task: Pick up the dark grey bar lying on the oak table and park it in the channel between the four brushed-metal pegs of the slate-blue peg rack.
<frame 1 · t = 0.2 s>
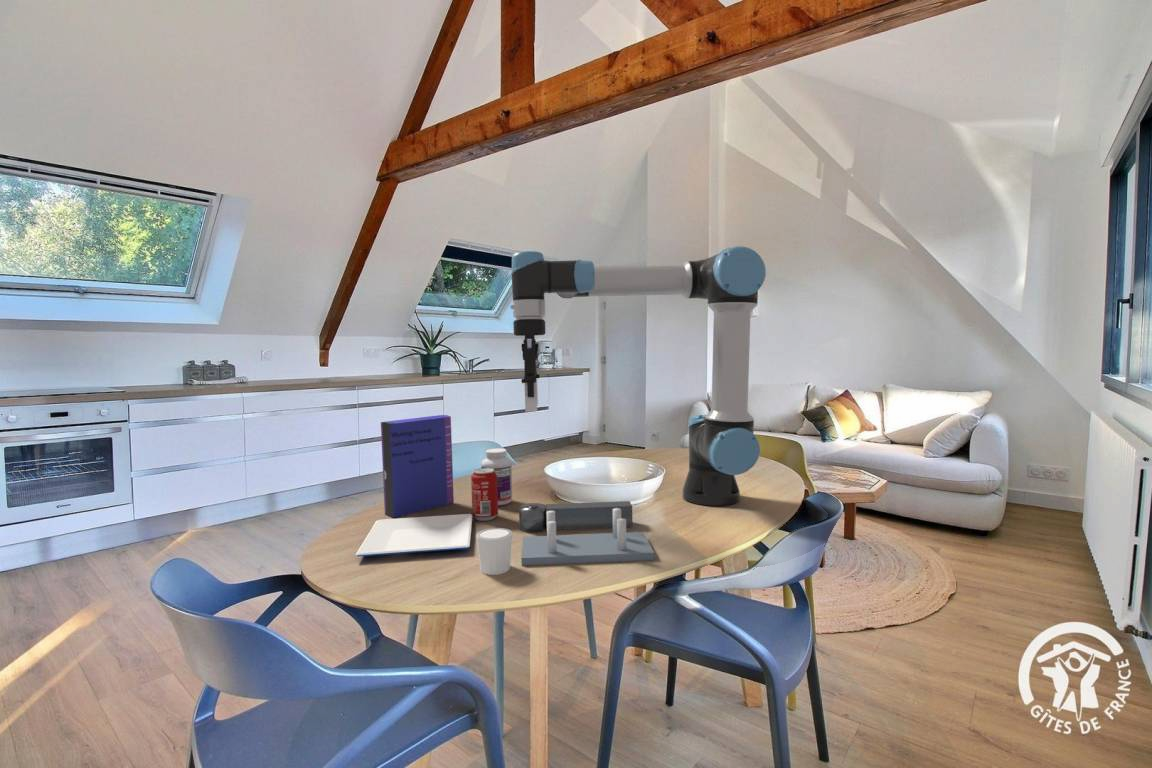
hand: (531, 408, 134), 27 cm above the table, fingers open, 13 cm apart
blue book: (420, 509, 148), on the table
plate: (420, 541, 124), on the table
white cup: (495, 569, 107), on the table
beverage can: (485, 518, 139), on the table
peg rack: (585, 551, 115), on the table
dark grey bar: (588, 525, 131), on the table
pill bottle: (497, 503, 152), on the table
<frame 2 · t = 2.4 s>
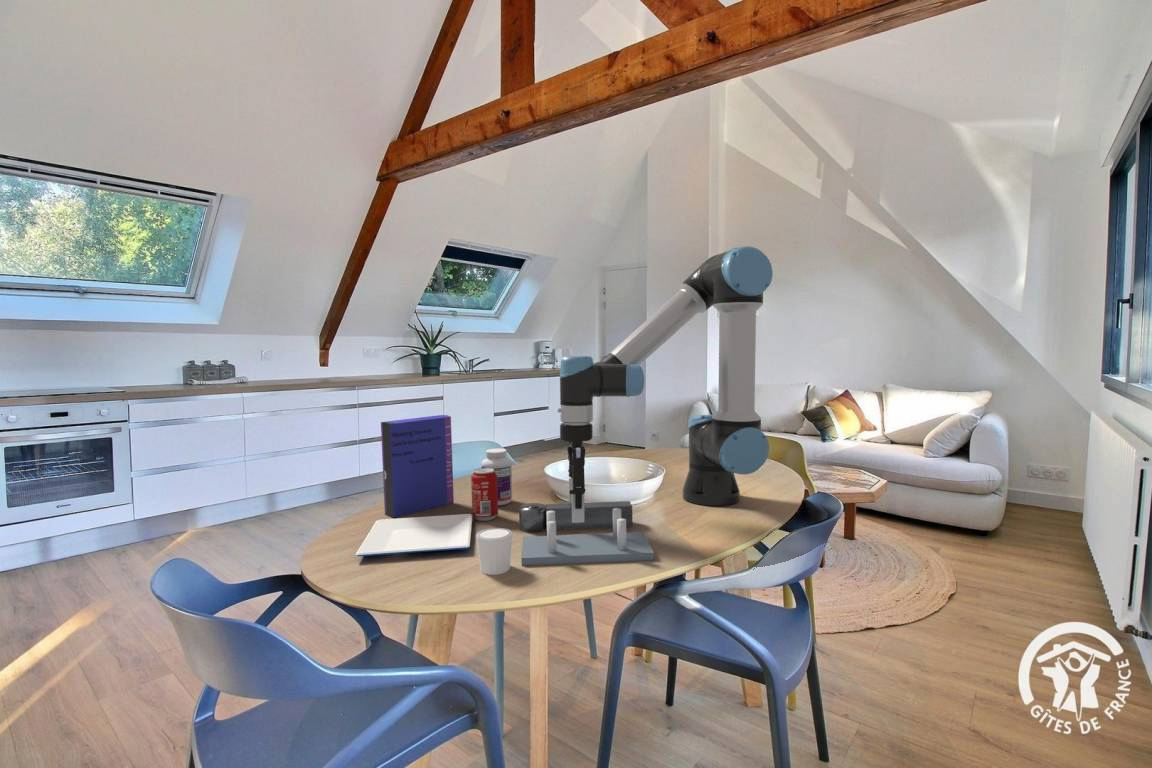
hand: (576, 513, 131), 3 cm above the table, fingers open, 13 cm apart
nothing on the table moved.
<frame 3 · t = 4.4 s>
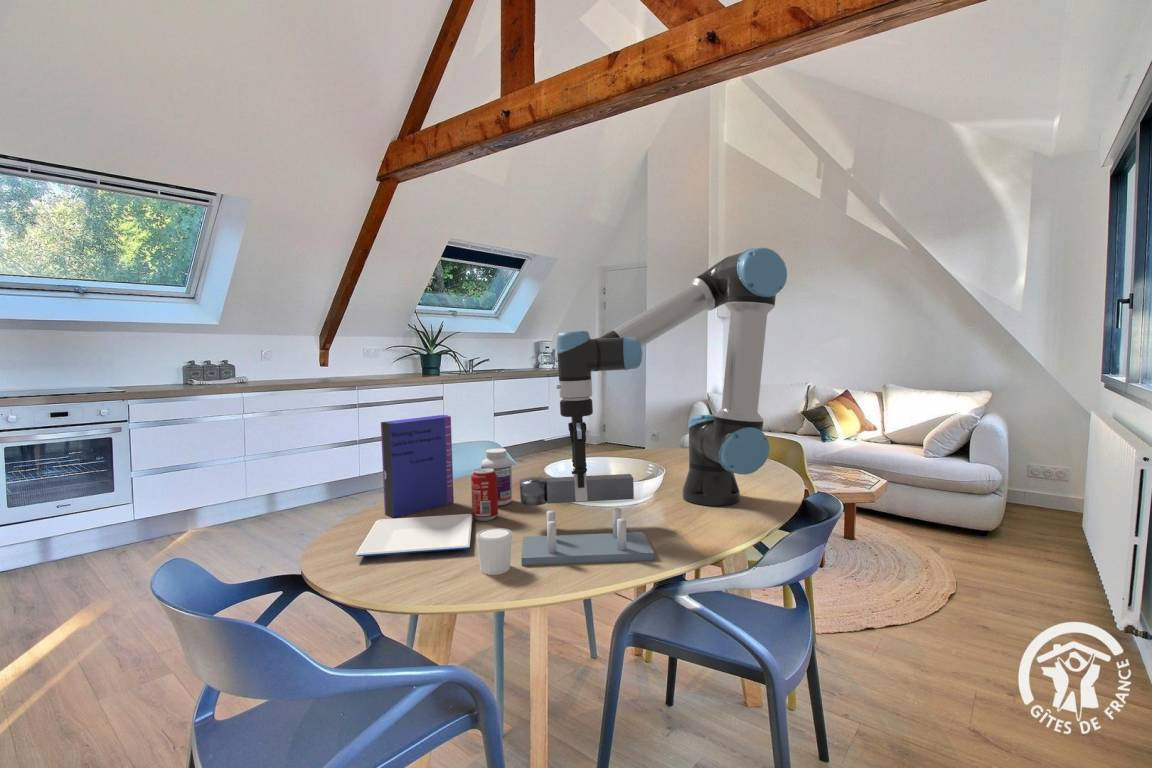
hand: (580, 497, 131), 7 cm above the table, fingers closed on dark grey bar, 4 cm apart
dark grey bar: (590, 498, 131), point 6 cm above the table, touching gripper
everything else where it was.
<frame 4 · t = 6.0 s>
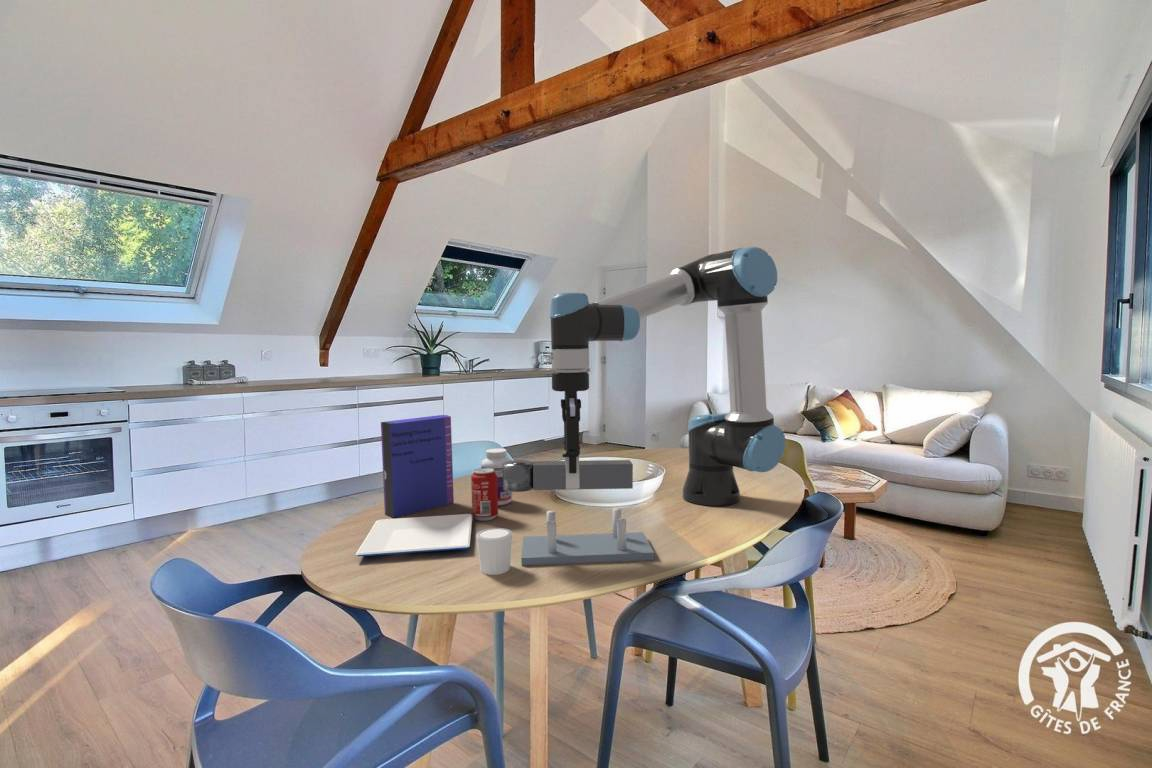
hand: (572, 485, 114), 14 cm above the table, fingers closed on dark grey bar, 4 cm apart
dark grey bar: (582, 486, 114), point 14 cm above the table, touching gripper
everything else where it was.
when the fingers open (2 cm above the table, at t = 7.9 s): dark grey bar stays where it is, resting on peg rack.
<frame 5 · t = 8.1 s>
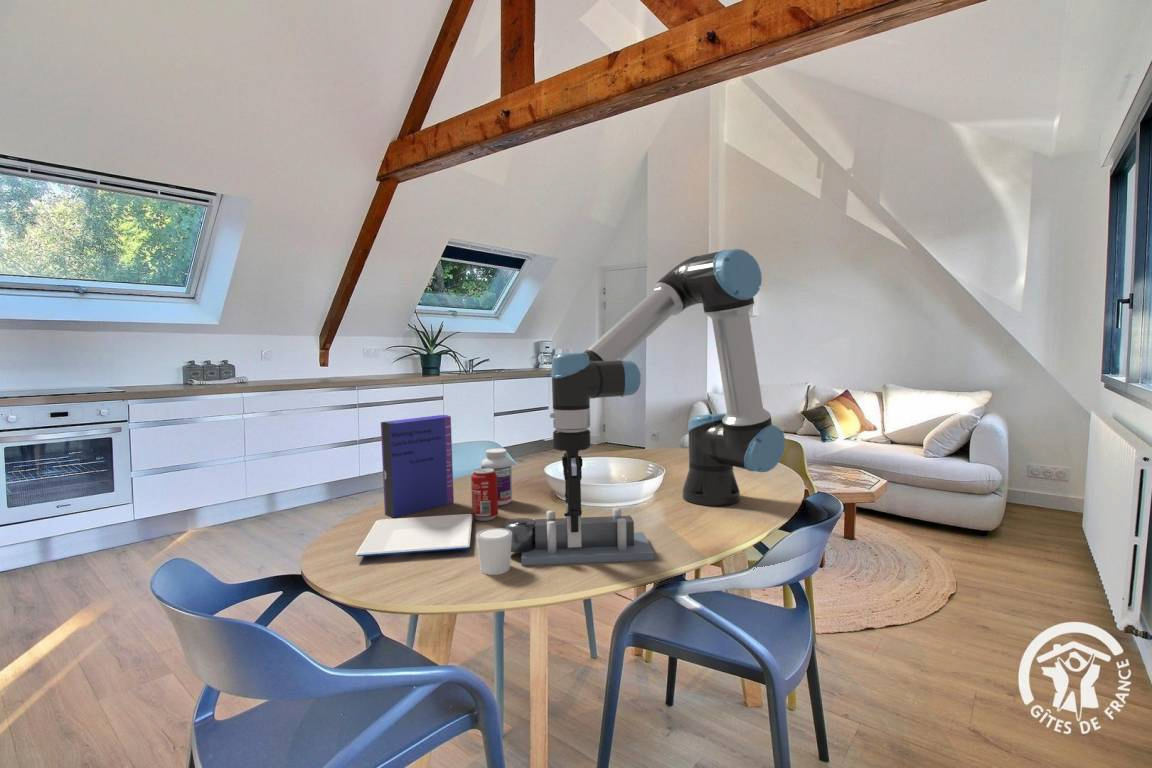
hand: (573, 540, 115), 2 cm above the table, fingers open, 6 cm apart
dark grey bar: (584, 544, 115), point 1 cm above the table, touching peg rack
everything else where it was.
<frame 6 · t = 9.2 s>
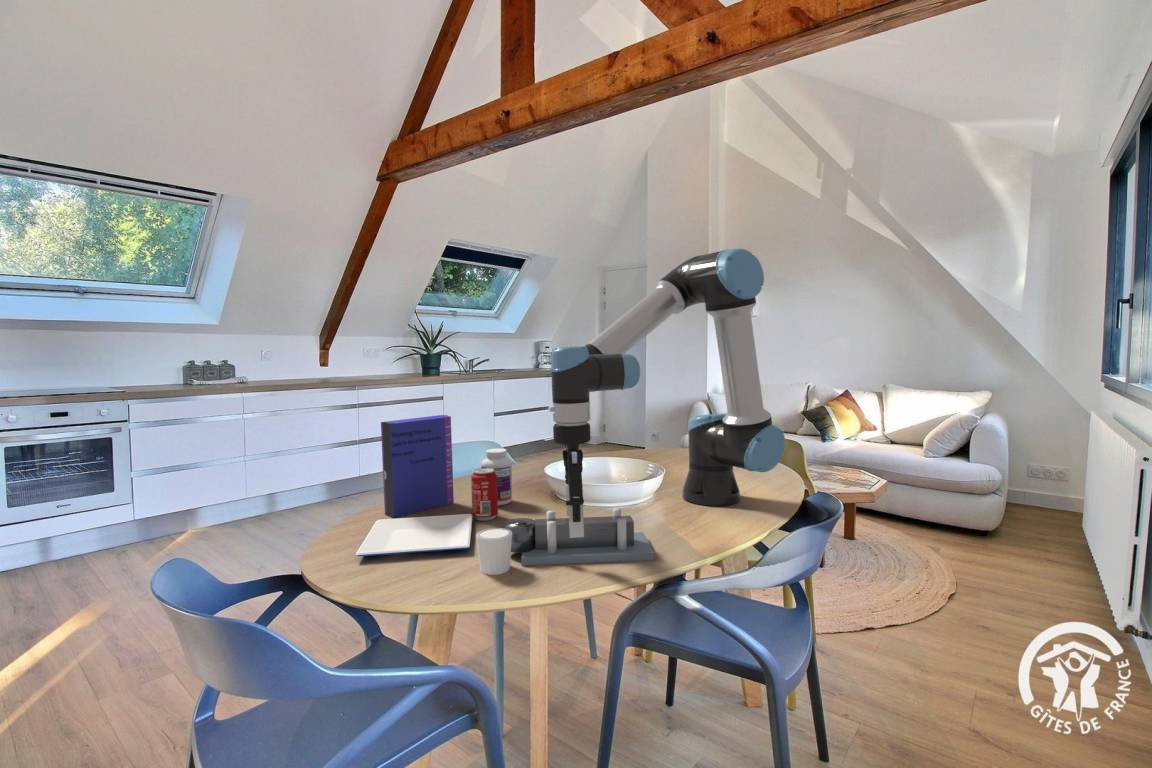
hand: (574, 525, 115), 5 cm above the table, fingers open, 13 cm apart
nothing on the table moved.
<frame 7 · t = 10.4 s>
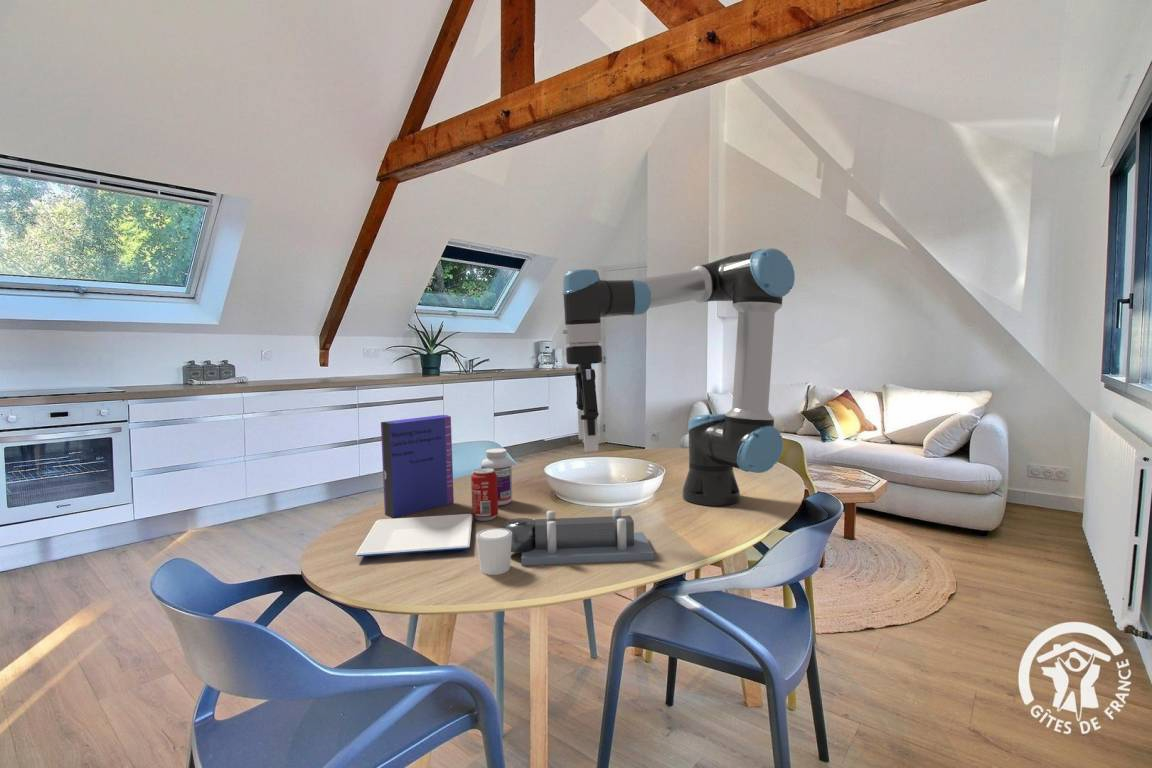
hand: (588, 444, 119), 21 cm above the table, fingers open, 13 cm apart
nothing on the table moved.
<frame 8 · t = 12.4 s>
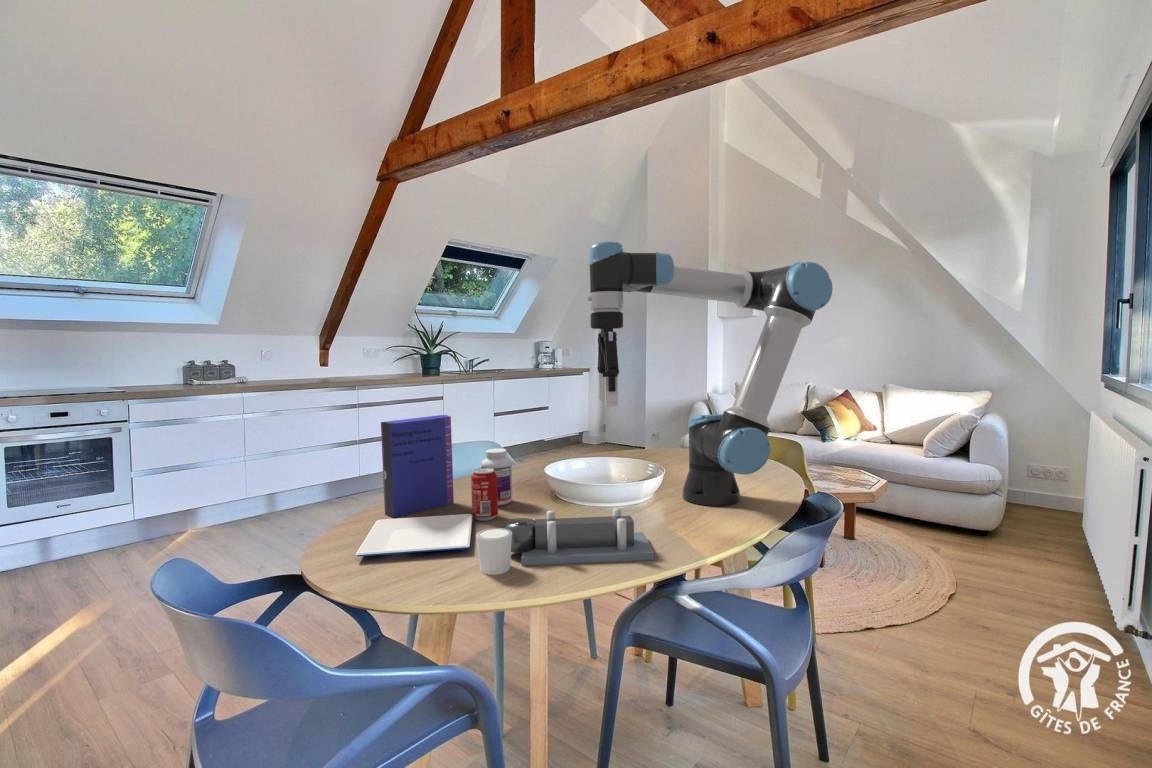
hand: (607, 403, 131), 29 cm above the table, fingers open, 13 cm apart
nothing on the table moved.
at the end: dark grey bar 0.3 cm off-centre on the peg rack, point 1.5 cm above the peg rack's base; dark grey bar tilted 0°; the gripper is holding nothing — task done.
